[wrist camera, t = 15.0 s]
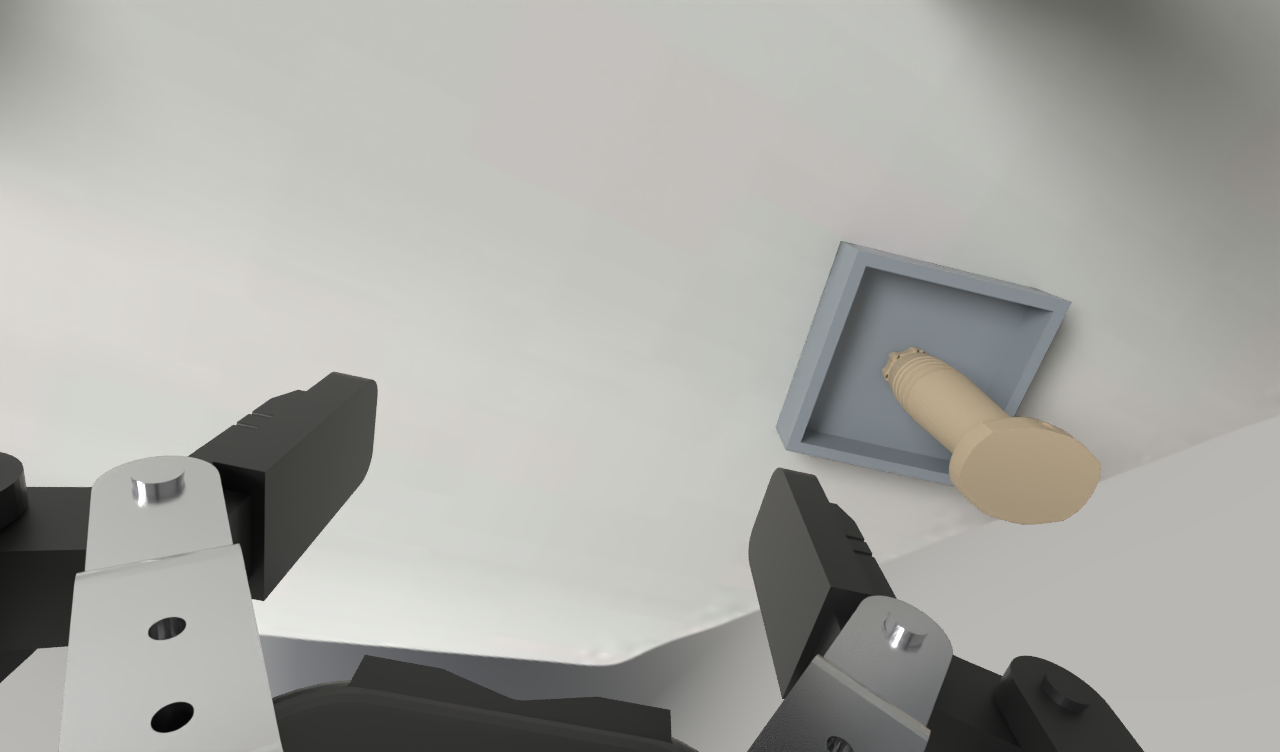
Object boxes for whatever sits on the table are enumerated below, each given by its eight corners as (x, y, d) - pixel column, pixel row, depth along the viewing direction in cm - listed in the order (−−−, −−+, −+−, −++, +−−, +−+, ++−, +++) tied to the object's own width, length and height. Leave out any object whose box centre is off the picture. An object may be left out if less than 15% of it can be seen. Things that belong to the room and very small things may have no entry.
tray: (841, 241, 40) (858, 250, 37) (1037, 289, 41) (1071, 302, 38) (775, 427, 45) (785, 450, 42) (952, 466, 46) (976, 491, 43)
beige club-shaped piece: (875, 321, 41) (991, 413, 27) (962, 348, 42) (1120, 451, 28) (846, 385, 43) (941, 503, 29) (930, 409, 43) (1064, 536, 29)
